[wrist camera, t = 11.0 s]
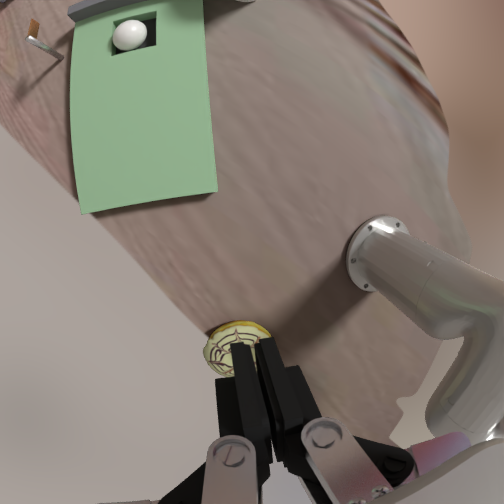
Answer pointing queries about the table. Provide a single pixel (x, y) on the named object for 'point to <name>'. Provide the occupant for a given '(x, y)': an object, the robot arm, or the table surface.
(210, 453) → the robot arm
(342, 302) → the table surface
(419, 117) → the table surface
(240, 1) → the dixie cup
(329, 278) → the table surface
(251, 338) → the decorated donut
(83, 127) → the mat
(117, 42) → the ball
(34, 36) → the flag pin
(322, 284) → the table surface
